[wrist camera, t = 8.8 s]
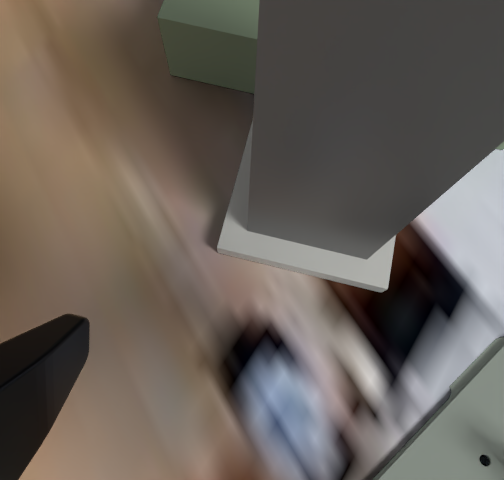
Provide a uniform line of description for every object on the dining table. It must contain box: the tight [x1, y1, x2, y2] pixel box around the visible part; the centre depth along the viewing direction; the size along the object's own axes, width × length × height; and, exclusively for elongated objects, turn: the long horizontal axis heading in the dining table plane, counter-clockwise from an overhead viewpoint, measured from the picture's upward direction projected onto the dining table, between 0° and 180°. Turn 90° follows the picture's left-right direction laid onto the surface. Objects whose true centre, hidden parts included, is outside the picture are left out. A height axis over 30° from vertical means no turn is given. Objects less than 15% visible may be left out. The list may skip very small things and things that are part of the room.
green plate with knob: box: [157, 0, 504, 292], centre depth 18 cm, size 18×16×6 cm
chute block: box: [247, 0, 504, 260], centre depth 12 cm, size 5×5×13 cm
